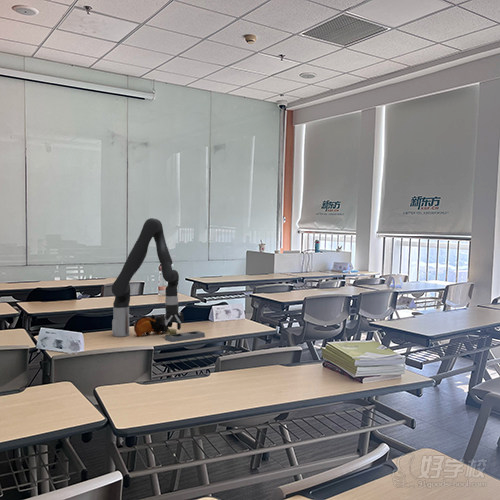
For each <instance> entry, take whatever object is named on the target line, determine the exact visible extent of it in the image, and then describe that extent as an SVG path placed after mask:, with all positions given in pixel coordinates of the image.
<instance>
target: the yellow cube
mask: <svg viewBox="0 0 500 500" xmlns="http://www.w3.org/2000/svg"><path fill="white" fill-rule="evenodd" d="M171 334H177V329H176V328H172V327H171V328H169V329H167V332H166V335H171Z"/></svg>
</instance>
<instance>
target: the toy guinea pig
mask: <svg viewBox="0 0 500 500" xmlns="http://www.w3.org/2000/svg"><path fill="white" fill-rule="evenodd" d="M165 319H166V318H164V322H165ZM172 327H173V320H172V321H169V322H168V324H167V329H170V328H172ZM133 330H134V332H135V333H134V334H135V335H136V337H139V338H141V337H142V336H143V335H144V334H145V335H146V336H148V335H149V334H151V333H155V334H158V335H161V334H162V332H163V333H166V332H165V331H164V325H162V324H161V316H157V317H155V315H153V314H151V316H150V317H148V316H145V315H143V316H141V317H140V318H138V319H137V320H136V321H135V323H134V325H133Z"/></svg>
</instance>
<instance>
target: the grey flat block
mask: <svg viewBox="0 0 500 500" xmlns="http://www.w3.org/2000/svg"><path fill="white" fill-rule="evenodd" d="M205 337H206V334H205V332H204V331H200V330H194V331H187V332H186V331H185V332H180V333H178V332H177V333H176V334H171V335H167V334H165V335H164V340H165V341H168V342H170V343H175V342H182V341H188V340H193V339H194V340H195V339H201V338H205Z"/></svg>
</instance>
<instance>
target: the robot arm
mask: <svg viewBox="0 0 500 500" xmlns="http://www.w3.org/2000/svg"><path fill="white" fill-rule="evenodd" d="M152 239H153V241H154V242H155V246H156V247H155V248H156V254H157V258H158V261H159V263H160V266H161V275H162V278H163V280H164V281H165V282H167V285H166V287H165V290H164V291H165V300H164V303H165V310H164V311H165V314H161V313H160V317H161V324H162V325H164V331H165V332H164V333H167V324H168V322H169V321H172V322H173V321H176V328H177V329H176V330H177V331H179V330H181V328H182V326H181V325H182V323H184V313H183V312H182V311H179V297H178V286H179V280H180V277H179V275H180V274H179V273H178V271H177V270H176V269H173V266H172V265H173V259H172V257H171V254H170V252H169V247H168V246H167V243H166V238H165V234H164V229H163V224H162V222H161V220H159V219H158V218H153V217H150V218H148V219H146V220H145V221H144V223H143V226H142V229H141V231H140V233H139V235H138V237H137V240H136V241H135V243H134V244H133V247H132V249H130V250H131V251H130V252H129V254H128V256H127V258H126V260H125V262H124V264H123V266H122V269H121V271H120V273H119V274H118V276H117V277H116V278H115V280H114V281H113V283H112V285H111V292H112V295H114V301H113V303H112V305H113V309H112V310H113V313H112V314H113V319H112V321H111V325H112V326H111V328H112V329H111V330H112V333H111V335H112V336H113V337H116V338H117V337H127V336H130V301H131V284H130V282H131V280H132V278H133V276H134V275H135V274H136V273H137V271H138V270H139V269H140V268H141V266H143V263H144V261H145V259H146V258H147V254H148V250H149V249H148V248H149V245H150V243H151V241H152ZM164 319H165V322H164Z"/></svg>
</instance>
